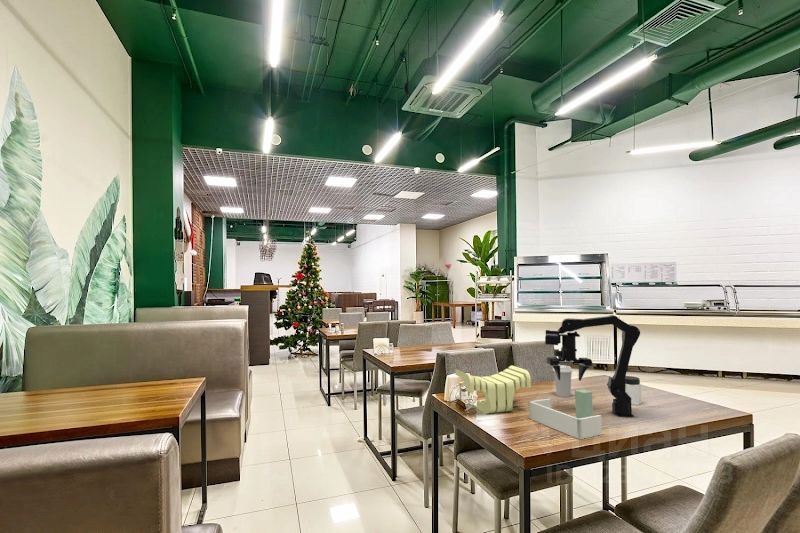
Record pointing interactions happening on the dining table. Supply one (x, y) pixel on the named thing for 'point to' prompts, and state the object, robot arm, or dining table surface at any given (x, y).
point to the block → (583, 403)
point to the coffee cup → (563, 381)
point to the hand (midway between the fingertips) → (569, 380)
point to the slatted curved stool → (497, 388)
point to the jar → (633, 389)
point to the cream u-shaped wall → (565, 420)
